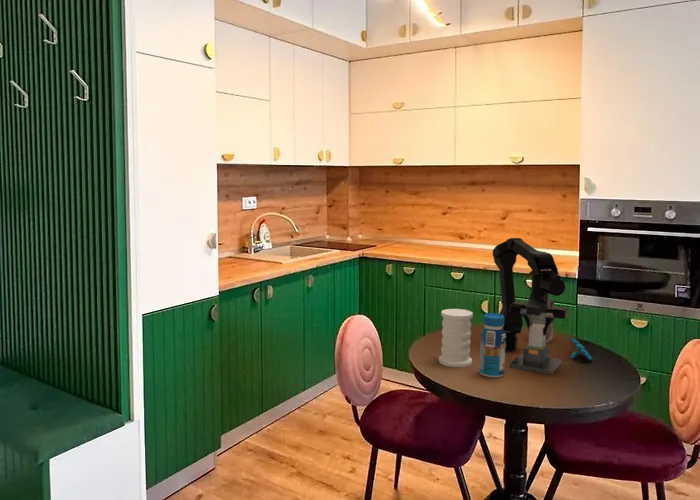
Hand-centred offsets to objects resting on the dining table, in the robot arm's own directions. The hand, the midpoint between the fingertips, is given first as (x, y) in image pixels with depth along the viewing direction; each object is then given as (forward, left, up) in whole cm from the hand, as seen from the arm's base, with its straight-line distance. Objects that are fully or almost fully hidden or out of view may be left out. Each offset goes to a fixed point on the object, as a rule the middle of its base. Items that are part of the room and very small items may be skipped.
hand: (537, 334), depth 215 cm
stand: (0, 0, -11) cm, 11 cm away
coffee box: (-7, +33, -12) cm, 36 cm away
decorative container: (-25, -12, -12) cm, 30 cm away
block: (0, 0, -6) cm, 6 cm away
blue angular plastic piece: (+12, +17, -12) cm, 24 cm away
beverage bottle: (-10, -17, -12) cm, 23 cm away
